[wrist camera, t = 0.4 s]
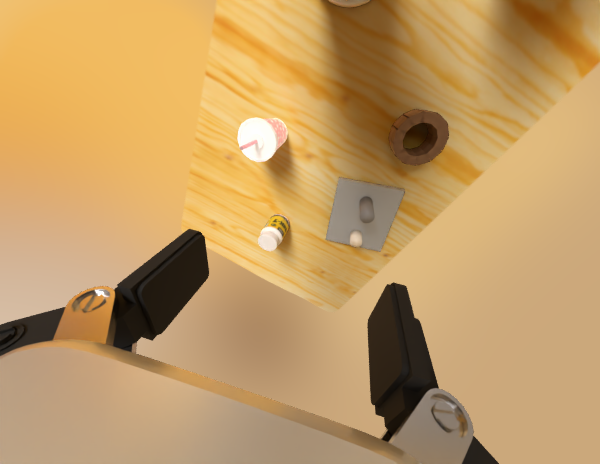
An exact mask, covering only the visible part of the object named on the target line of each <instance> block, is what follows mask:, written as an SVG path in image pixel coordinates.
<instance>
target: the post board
mask: <svg viewBox="0 0 600 464" xmlns="http://www.w3.org/2000/svg"><path fill="white" fill-rule="evenodd" d="M404 193H405V190H404V189H402V188H396V187H391V186H385V185H380V184H374V183H369V182H363V181H358V180H353V179H347V178H342V177H339V181H338V185H337V190H336V194H335V199H334V203H333V208H332V213H331V217H330V222H329V226H328V231H327V235H326V240H330V241H334V242H339V243H343V244H348V245H351V246H353V247H361V248H366V249H370V250H375V251H379V252H380V251H381V249H382V246H383V244H384V242H385V239H386V237H387V234H388V232H389V230H390V227H391V225H392V222H393V220H394V217H395V215H396V213H397V210H398V208H399V205H400V203H401V200H402V198H403V196H404Z"/></svg>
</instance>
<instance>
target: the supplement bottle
mask: <svg viewBox="0 0 600 464" xmlns="http://www.w3.org/2000/svg"><path fill="white" fill-rule="evenodd" d="M289 226H290V223H289V220H288V219H287V218H286V217H285V216H283V215H281V214H276V215H273V216H272V217H271V218H270V220H269V221H268V223H267V224H266V225H265V227H264V228H263V229H262V231H261V235H260V237H259V239H258V243H259V245H260V247H261V248H263V249H264V250H267V251H273V250H275V249H276V247H277V246H278V245H279V244H280V243H281V242H282V240H283V238H284V237H285V235H286V233H287V231H288V229H289Z"/></svg>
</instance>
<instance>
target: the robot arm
mask: <svg viewBox="0 0 600 464" xmlns="http://www.w3.org/2000/svg"><path fill="white" fill-rule="evenodd" d="M328 1H330V2H331V3H333V4H335V5H338V6H341V7H357V6H360V5H363V4H365V3H367V2H369V1H371V0H348V1H346V0H328ZM208 276H209V268H208V260H207V252H206V244H205V237H204V236H203V235H202V233H201V232H199V231H195V230H191V229H188V230H187V231H185V232H184V233H183V234H182V235H181V236H179V237H178V238H177V239H175V240H174V241H173V242H171V243H170V244H169V245H168V246H166V247H165V248H164V249H162V251H160V252H159V253H157V254H156V255H155V256H153V257H152V258H151V259H150V260H148V261H147V262H146V263H144V264H143V265H142V266H141V267H139V268H138V269H137V270H136V271H134V272H133V273H132V274H131V275H129V276H128V277H127V278H125V279H124V280H123V281H122V282H120V283H119V284H118V287H117V288H115V290H113V289H112V288H110V287H108V286H98V287H93V288H90V289H87V290H85V291H83V292H80V293H79V294H77V295H76V296H74V297H73V298H72V299H71V300H70V301H69V302H68V304H67V305H66V307H63V308H60V309H56V310H52V311H48V312H44V313H41V314H37V315H33V316H30V317H26V318H22V319H18V320H15V321H11V322H7V323H4V324H1V325H0V464H499V463H498V462H497V461H496V460H495V459H494V458H493V457H492V456H491V454H490V453H489V452H488V451H487V450H486V449H485V448H484V447H483V446H482V444H480V442H479V441H478V440H477V439H476V438H475V437H474V436H473V433H474V431H473V425H472V422H471V419H470V417H469V415H468V413H467V411H466V410H465V408H464V407H463V406H462V404H461V403H460V402H459V401H458V400H457V399H456V398H455V397H454V396H452V395H451V394H450V393H448V392H446V391H444V390H442V389H439V387H438V384H437V380H436V377H435V373H434V369H433V366H432V362H431V359H430V355H429V351H428V348H427V344H426V341H425V337H424V334H423V330H422V327H421V324H420V321H419V320H418V319H416V318H414V314H413V310H412V306H411V302H410V298H409V294H408V291H407V288H406V286H404V285H400V284H396V283H392V284H391V285H387V286H386V287H385V289H384V291H383V293H382V295H381V297H380V299H379V300H378V302H377V304H376V306H375V308H374V310H373V311H372V313H371V315H370V317H369V319H368V347H369V370H370V391H371V403H372V404H373V405H375V411H376V415H379V416H382V417H384V420H385V427H386V428H387V429H386V431H385V432H384V433H383V435H382V436H381V438H380V439H379V438H376V437H374V436H372V435H369V434H367V433H364V432H362V431H359V430H357V429H354V428H351V427H348V426H346V425H343V424H340V423H337V422H335V421H332V420H329V419H327V418H323V417H321V416H318V415H315V414H312V413H309V412H306V411H304V410H301V409H298V408H295V407H292V406H289V405H286V404H283V403H280V402H278V401H275V400H272V399H269V398H266V397H263V396H260V395H257V394H254V393H252V392H249V391H246V390H243V389H240V388H236V387H234V386H231V385H228V384H225V383H222V382H219V381H216V380H213V379H210V378H208V377H205V376H201V375H198V374H196V373H193V372H190V371H187V370H184V369H181V368H178V367H175V366H172V365H169V364H166V363H163V362H160V361H157V360H154V359H151V358H148V357H145V356H142V355H139V354H136V347H137V341H138V340H139V339H140V338H141V337H143V338H146V339H149V340H153V339H154V338H155V337H156V336H157V335H159V334H161V333H162V332H163V331H164V330H165V329H166V328H167V327H168V325H169V324H170V323H171V322H172V320H173V319H174V318H175V317H176V316H177V315H178V313H179V312H180V311H181V310H182V309H183V307H184V306H185V305H186V304H187V302H188V301H189V300H190V299H191V298H192V296H193V295H194V294H195V293H196V292H197V290H198V289H199V288H200V287H201V285H202V284H203V283H204V282H205V281H206V279H207V278H208Z"/></svg>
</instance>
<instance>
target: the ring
mask: <svg viewBox="0 0 600 464" xmlns="http://www.w3.org/2000/svg"><path fill="white" fill-rule="evenodd" d="M422 122H424V123H426V124H427V126H428V135H427V137H426V140H425V141H424V142H423V143H422V144H421V145H420V146H419V147H416V148H413V149H406V148H403V139H404V136H405V133H406V132H407V131H408V130H409V129H410V128H411V127H412V126H414V125H416V124H419V123H422ZM393 125H394V126H392V128H391V131H390V134H389V142H390V147H391V149H392V151H393V153H394V154H395V156H396V157H397V158H398V159H400V160H401V161H402V162H403V163H404V164H410V165H420V164H423V163H426V162H430V160H433V159H434V158H435V157H436V156H437V155H438V154H440V153H441V152H442V151H441V150H443V149H444V147H445V145H446V142H447V140H448V138H449V137H448V136H449V131H448V123H447V122H446V121H445V120H444V119H443V118H442V116H441V115H440V114H438V113H435V112H431V111H426V110H419V109H414V110H412V111H409V112H407V113H404V114H403V115H401V116H400V117H399V118H398V119H397V120H396V122H395V123H394V124H393Z"/></svg>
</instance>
